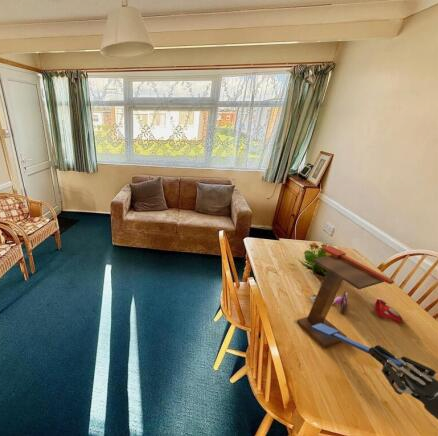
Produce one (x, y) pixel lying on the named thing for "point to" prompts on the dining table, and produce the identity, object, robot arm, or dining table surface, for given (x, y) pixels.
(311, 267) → the potted flower
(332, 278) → the shelf stand
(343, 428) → the dining table surface
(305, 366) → the dining table surface
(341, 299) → the pink toy figure
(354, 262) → the red spatula
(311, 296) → the grey flat lumpy piece
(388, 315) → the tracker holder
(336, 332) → the blue paddle stick
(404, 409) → the dining table surface
